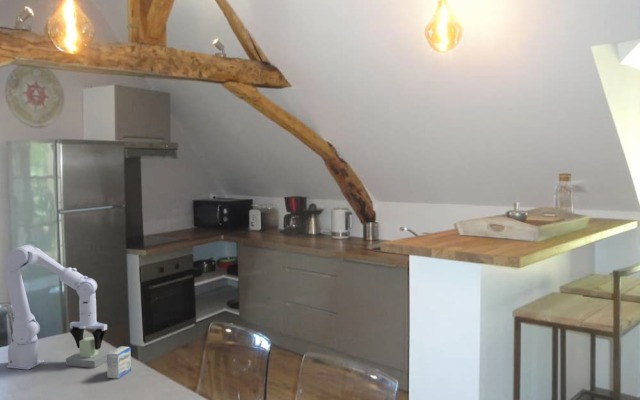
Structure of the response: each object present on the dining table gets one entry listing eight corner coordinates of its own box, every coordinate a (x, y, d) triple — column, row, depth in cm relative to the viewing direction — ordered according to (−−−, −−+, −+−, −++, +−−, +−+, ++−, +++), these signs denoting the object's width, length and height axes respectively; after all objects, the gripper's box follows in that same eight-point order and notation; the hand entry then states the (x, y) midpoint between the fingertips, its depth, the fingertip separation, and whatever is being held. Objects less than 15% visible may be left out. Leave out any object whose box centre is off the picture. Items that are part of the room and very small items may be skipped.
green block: (79, 356, 192) (79, 340, 192) (87, 352, 197) (87, 337, 196) (90, 357, 191) (90, 341, 191) (98, 353, 196) (97, 337, 195)
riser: (66, 365, 191) (65, 358, 191) (84, 355, 201) (84, 349, 200) (94, 368, 188) (94, 361, 188) (111, 358, 198) (111, 351, 198)
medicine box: (118, 379, 178) (118, 354, 178) (106, 378, 179) (106, 353, 179) (131, 370, 186) (130, 346, 185) (120, 369, 187) (119, 345, 186)
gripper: (63, 313, 191) (64, 350, 192) (98, 316, 188) (99, 353, 188) (76, 308, 198) (77, 343, 199) (110, 311, 195) (111, 346, 195)
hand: (89, 348), depth 194 cm, fingers open, 7 cm apart
